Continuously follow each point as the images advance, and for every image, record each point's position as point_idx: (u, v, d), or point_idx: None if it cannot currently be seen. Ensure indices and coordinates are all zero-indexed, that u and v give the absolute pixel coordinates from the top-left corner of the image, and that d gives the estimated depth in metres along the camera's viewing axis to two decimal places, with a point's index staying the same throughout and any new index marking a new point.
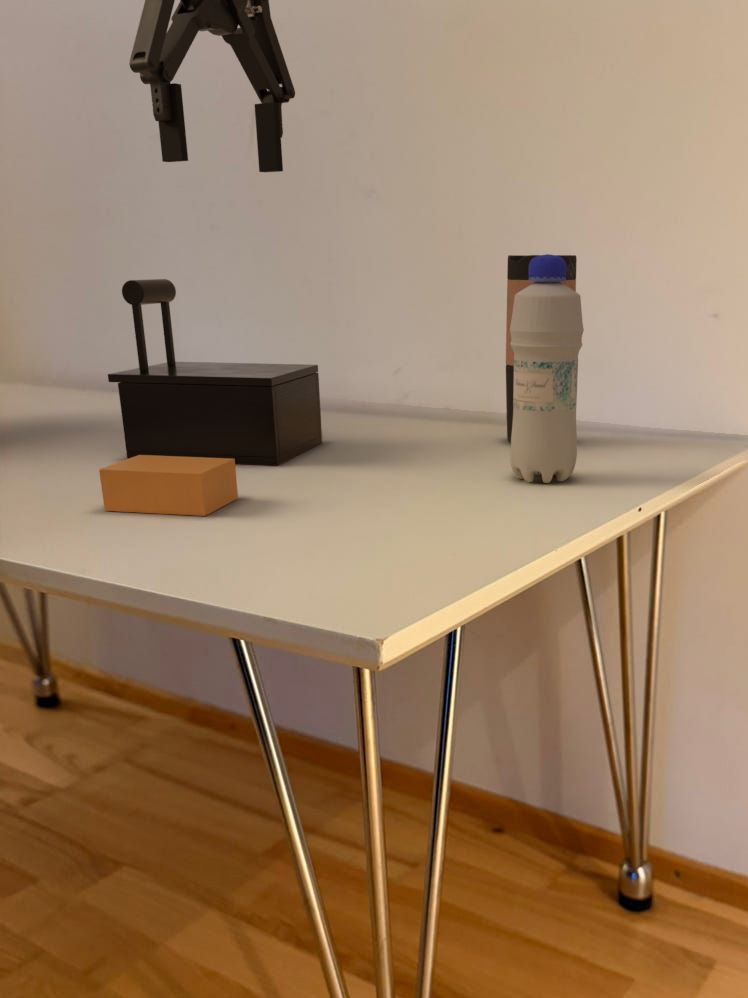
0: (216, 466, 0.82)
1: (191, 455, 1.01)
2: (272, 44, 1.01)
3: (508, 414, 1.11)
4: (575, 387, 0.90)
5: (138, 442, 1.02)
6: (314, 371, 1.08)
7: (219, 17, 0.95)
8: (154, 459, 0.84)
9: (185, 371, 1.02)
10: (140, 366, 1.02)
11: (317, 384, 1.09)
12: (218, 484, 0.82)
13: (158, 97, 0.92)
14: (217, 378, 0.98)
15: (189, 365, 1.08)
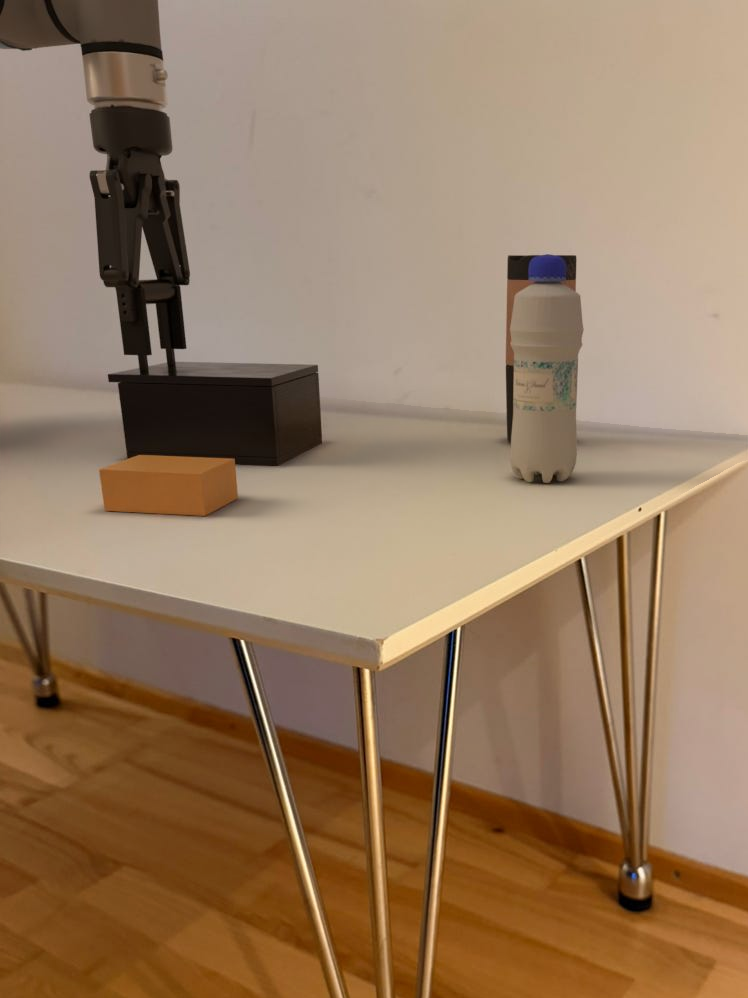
0: (216, 466, 0.82)
1: (191, 455, 1.01)
2: (178, 226, 1.05)
3: (508, 414, 1.11)
4: (575, 387, 0.90)
5: (138, 442, 1.02)
6: (314, 371, 1.08)
7: (147, 200, 0.99)
8: (154, 459, 0.84)
9: (185, 371, 1.02)
10: (140, 366, 1.02)
11: (317, 384, 1.09)
12: (218, 484, 0.82)
13: (125, 301, 0.98)
14: (217, 378, 0.98)
15: (189, 365, 1.08)
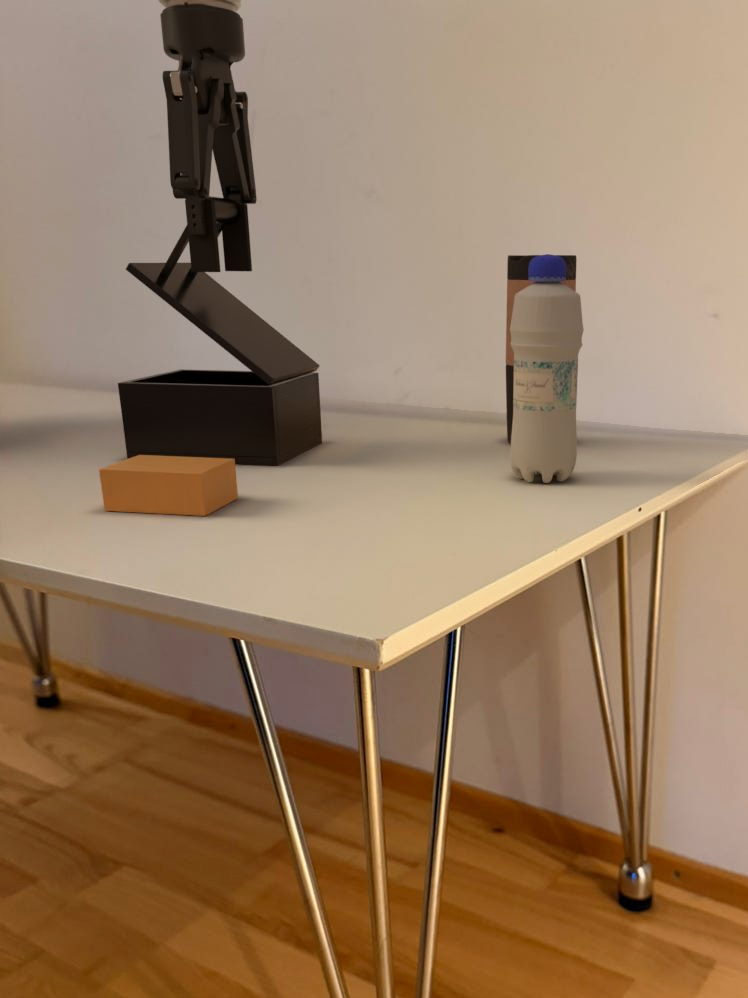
0: (216, 466, 0.82)
1: (191, 455, 1.01)
2: (245, 141, 1.01)
3: (508, 414, 1.11)
4: (575, 387, 0.90)
5: (138, 442, 1.02)
6: (313, 371, 1.08)
7: None
8: (154, 459, 0.84)
9: (201, 304, 0.99)
10: (163, 270, 0.98)
11: (317, 384, 1.09)
12: (218, 484, 0.82)
13: (195, 213, 0.94)
14: (226, 343, 0.96)
15: (207, 287, 1.04)
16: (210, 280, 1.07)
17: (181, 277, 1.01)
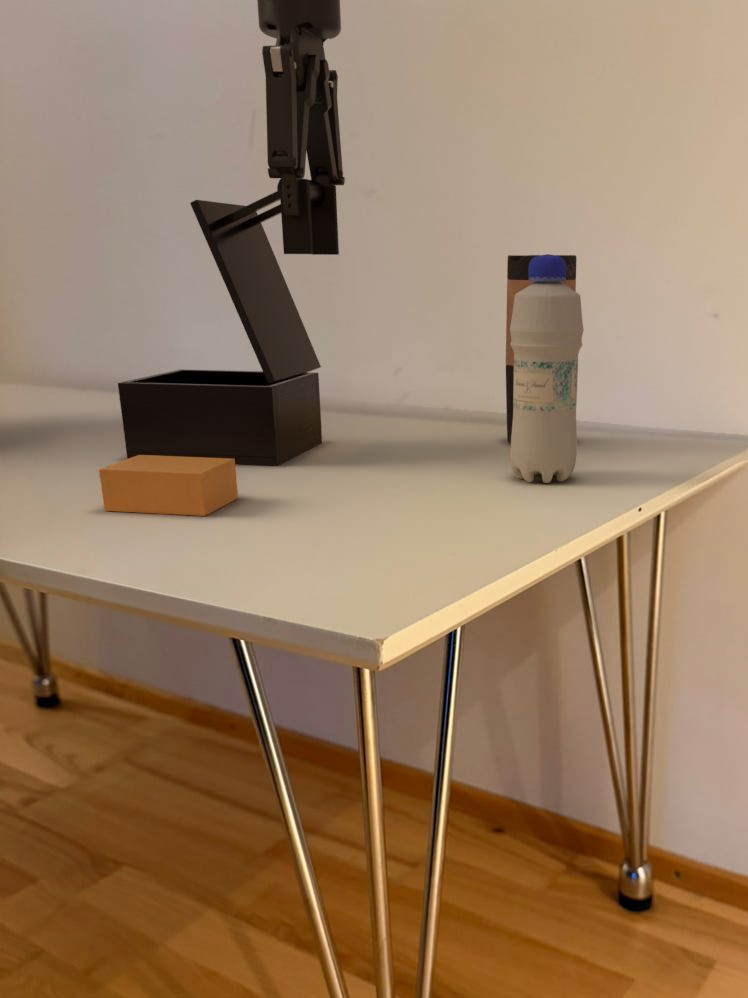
0: (216, 466, 0.82)
1: (191, 455, 1.01)
2: (335, 120, 0.98)
3: (508, 414, 1.11)
4: (575, 387, 0.90)
5: (138, 442, 1.02)
6: None
7: None
8: (154, 459, 0.84)
9: (243, 268, 0.97)
10: (224, 218, 0.95)
11: (317, 384, 1.09)
12: (218, 484, 0.82)
13: (291, 193, 0.91)
14: (249, 325, 0.95)
15: (256, 244, 1.02)
16: (262, 235, 1.04)
17: (237, 227, 0.99)
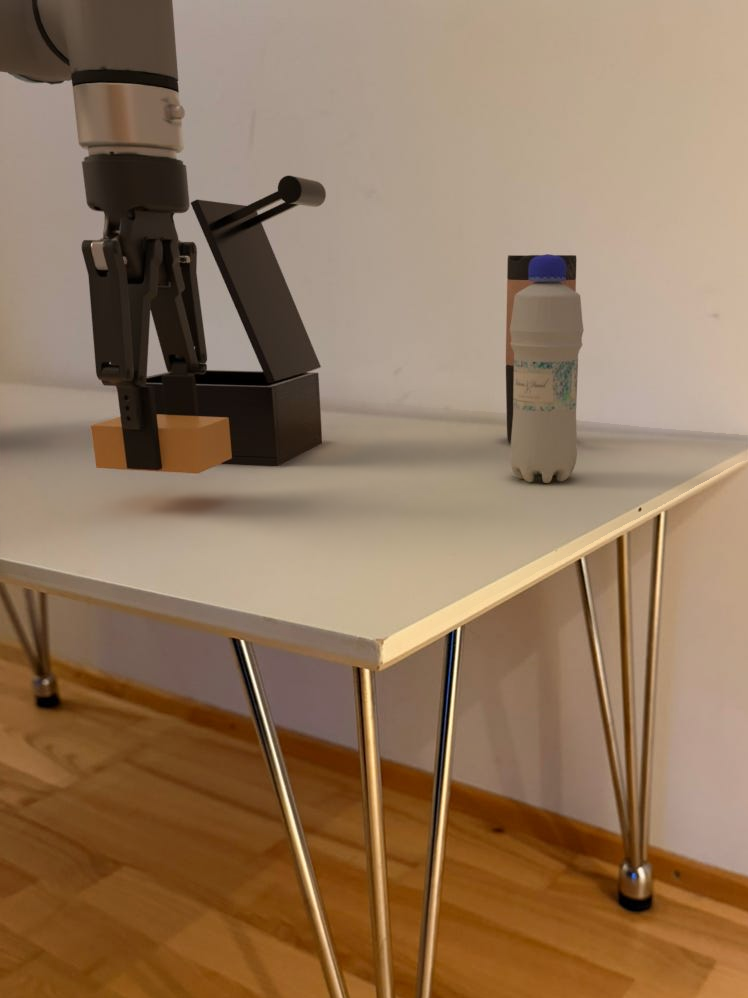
0: (210, 424, 0.81)
1: None
2: (193, 300, 0.83)
3: (508, 414, 1.11)
4: (575, 387, 0.90)
5: None
6: None
7: None
8: None
9: (244, 268, 0.97)
10: (225, 218, 0.95)
11: (317, 384, 1.09)
12: (211, 442, 0.81)
13: (129, 404, 0.76)
14: (249, 325, 0.95)
15: (257, 244, 1.02)
16: (262, 235, 1.04)
17: (238, 227, 0.99)
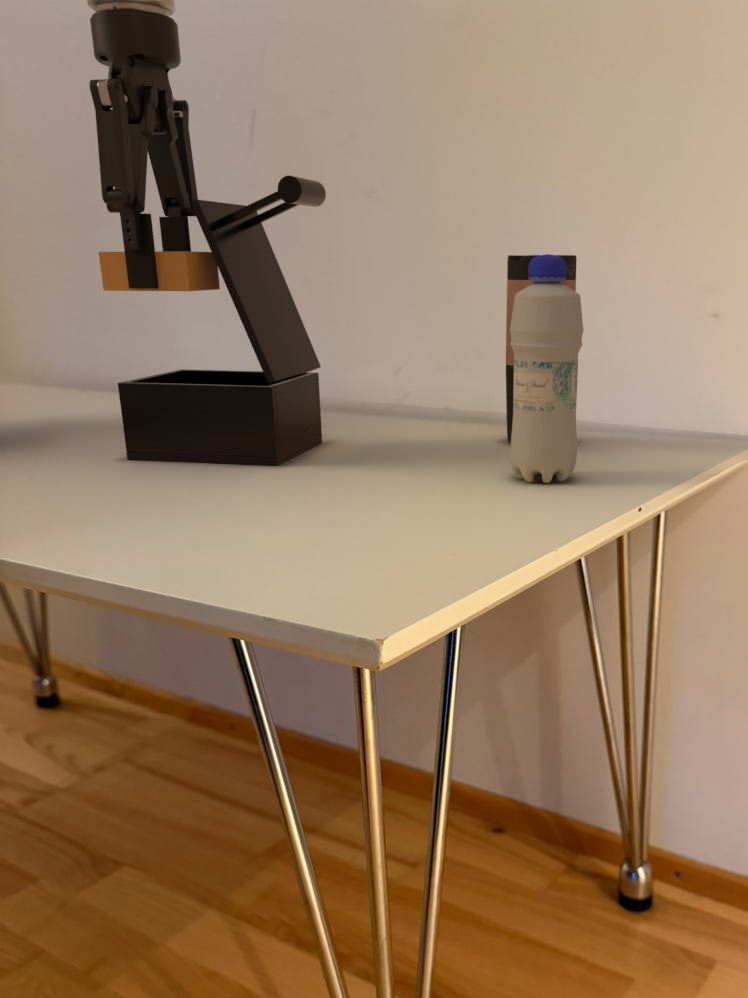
0: (199, 252, 0.94)
1: (191, 455, 1.01)
2: (186, 151, 0.97)
3: (508, 414, 1.11)
4: (575, 387, 0.90)
5: (138, 442, 1.02)
6: None
7: (153, 117, 0.91)
8: None
9: (244, 268, 0.97)
10: (225, 218, 0.95)
11: (317, 384, 1.09)
12: (201, 268, 0.95)
13: (130, 227, 0.90)
14: (249, 325, 0.95)
15: (257, 244, 1.02)
16: (262, 235, 1.04)
17: (238, 227, 0.99)
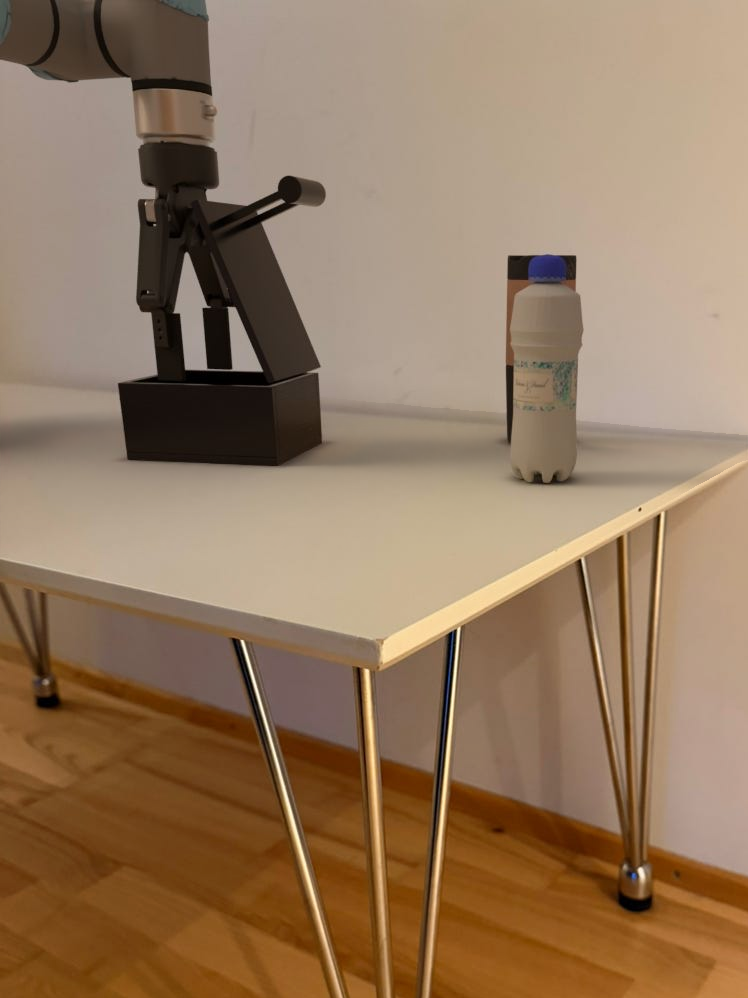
0: None
1: (191, 455, 1.01)
2: None
3: (508, 414, 1.11)
4: (575, 387, 0.90)
5: (138, 442, 1.02)
6: None
7: (193, 234, 0.99)
8: None
9: (244, 268, 0.97)
10: (225, 218, 0.95)
11: (317, 384, 1.09)
12: None
13: (161, 327, 0.96)
14: (249, 325, 0.95)
15: (257, 244, 1.02)
16: (262, 235, 1.04)
17: (238, 227, 0.99)
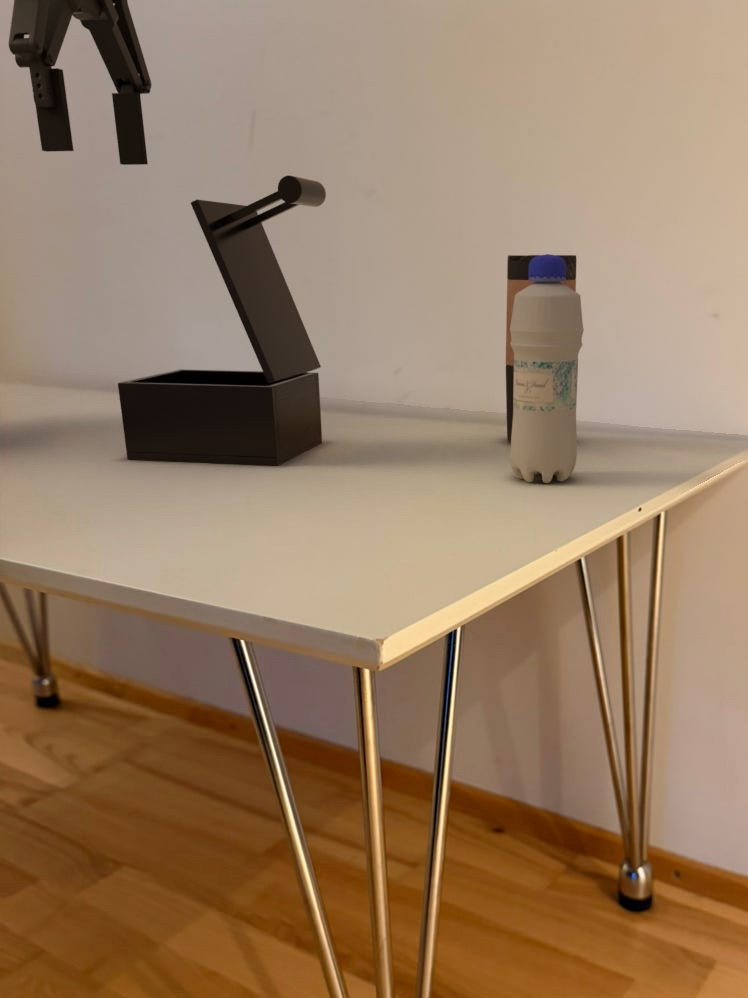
0: None
1: (191, 455, 1.01)
2: (130, 32, 0.98)
3: (508, 414, 1.11)
4: (575, 387, 0.90)
5: (138, 442, 1.02)
6: None
7: (87, 1, 0.91)
8: None
9: (244, 268, 0.97)
10: (225, 218, 0.95)
11: (317, 384, 1.09)
12: None
13: (40, 82, 0.86)
14: (249, 325, 0.95)
15: (257, 244, 1.02)
16: (262, 235, 1.04)
17: (238, 227, 0.99)
